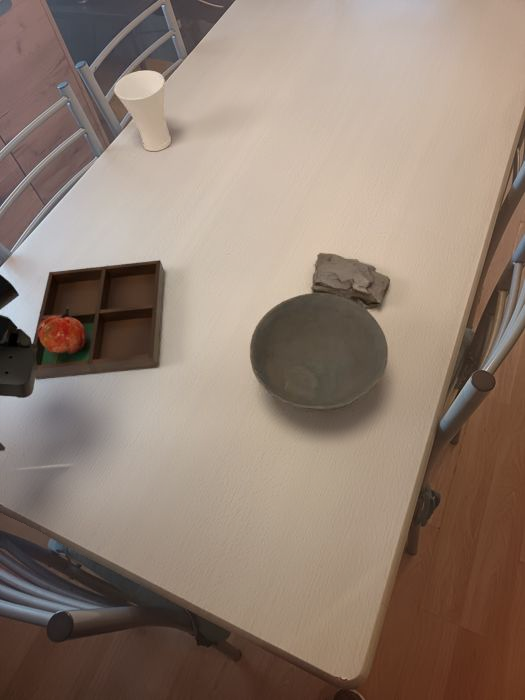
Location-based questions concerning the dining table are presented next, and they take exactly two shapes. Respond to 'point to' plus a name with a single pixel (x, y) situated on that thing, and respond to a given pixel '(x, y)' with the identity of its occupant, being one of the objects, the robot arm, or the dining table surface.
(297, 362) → the bowl
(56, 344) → the red round fruit
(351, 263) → the rock
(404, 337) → the dining table surface
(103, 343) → the four compartment tray
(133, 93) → the cup
